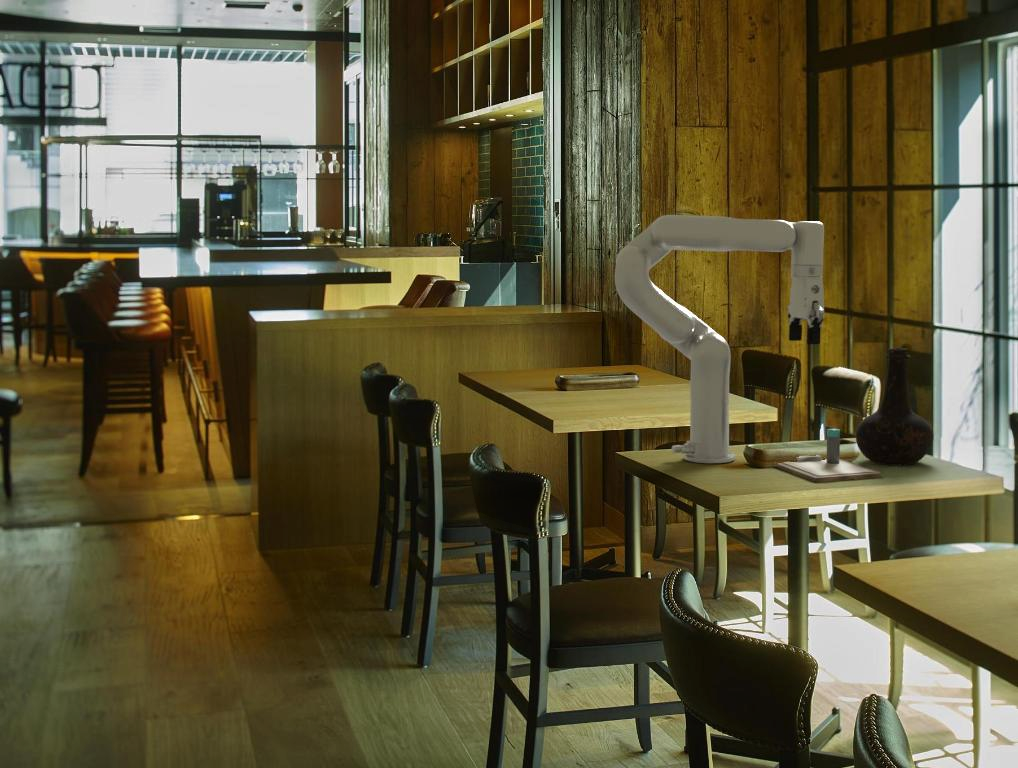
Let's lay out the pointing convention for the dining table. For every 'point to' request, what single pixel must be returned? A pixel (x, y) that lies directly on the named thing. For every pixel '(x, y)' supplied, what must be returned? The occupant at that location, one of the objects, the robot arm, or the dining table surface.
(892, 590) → the dining table surface
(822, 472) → the writing board
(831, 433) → the marker
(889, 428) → the glass bottle
